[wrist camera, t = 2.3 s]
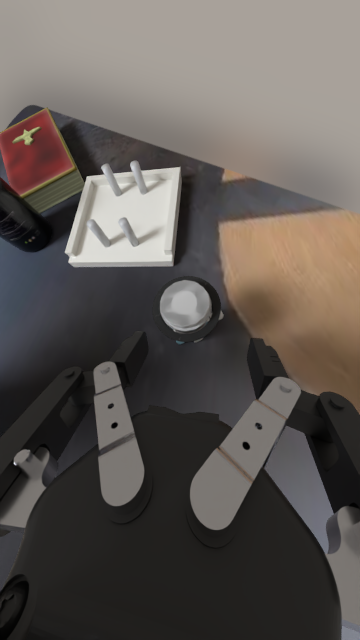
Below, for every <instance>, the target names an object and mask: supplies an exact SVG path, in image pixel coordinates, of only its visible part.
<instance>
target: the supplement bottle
mask: <svg viewBox="0 0 360 640" xmlns="http://www.w3.org/2000/svg"><path fill="white" fill-rule="evenodd" d="M51 236H52V227H51V225H50V223H49V222H48V221H47V220H46V219H45V218H44V217H43V216H42V215H41V214H40V213H39V212H38V211H37V210H36V209H34V208H33V207H32V206H31V205H30V204H29V203H28V202H27V201H26V200H25V199H24V198H22V197H21V196H20V195H19V194H18V193H17V192H16V191H15V190H14V189H13V188H12V187H10V186H9V185H8V184H7V183H6V182H5V181H4V180H3V179H2V178H1V177H0V237H1V238H2V239H4V240H6V241H7V242H9V243H10V244H12V245H14V246H15V247H17V248H19V249H20V250H22V251H25V252H35V251H38V250H40V249H42V248H43V247H44V246H45V245H46V244H47V243H48V242H49V240H50V239H51Z"/></svg>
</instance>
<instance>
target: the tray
mask: <svg viewBox="0 0 360 640" xmlns="http://www.w3.org/2000/svg"><path fill="white" fill-rule="evenodd" d="M130 166H131V169H132V171H133V172H126V173H116V174H113V172H112V170H111V168H110V166H109V164H104V165H103V166H102V167H101V169H102V171H103V173H104V175H96V176H87V178H86V182H85V185H84V188H83V192H82V195H81V199H80V202H79V206H78V209H77V213H76V216H75V220H74V223H73V227H72V230H71V233H70V237H69V240H68V244H67V247H66V251H65V253H66V254H67V255H68V256H70V259H69V262H68V263H70V264H71V265H72V266H73V267H134V266H173V265H174V255H175V246H176V236H177V226H178V216H179V206H180V196H181V186H182V179H181V171H180V167H177V168H167V169H157V170H147V171H141V169H140V166H139V163H138V161H133V162H131V164H130Z"/></svg>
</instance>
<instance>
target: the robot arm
mask: <svg viewBox="0 0 360 640" xmlns="http://www.w3.org/2000/svg"><path fill="white" fill-rule="evenodd" d="M147 354H148V342H147V336H146V332H141V331H135V332H134V334H133V335H132V337H128V338H127V339H125V340H124V341H123V342H122V344H121V345H120V346H119V348H118V349H117V350H116V352H115V353H114V354H113V356H112V357H111V358H110V360H109V361H108V362H104V363H101V364H100V365H98V366H97V367H96V368H95V369H94V370H91V371H85V372H82V370H81V368H80V367H76V366H74V367H70V368H67V369H65V370H63V371H62V372H61V373H60V374H59V375H58V376H57V377H56V378H55V379H54V380H53V381H52V382H51V383H50V385H49V386H48V387H47V388H46V389H45V390H44V391H43V392H42V393H41V394H40V395H39V396H38V398H37V399H36V400H35V401H34V402H33V403H32V404H31V405H30V406H29V407H28V408H27V409H26V410H25V412H24V413H23V414H22V415H21V416H20V417H19V418H18V419H17V420H16V421H15V422H14V423H13V425H12V426H11V427H10V428H9V429H8V430H7V431H6V432H5V433H4V434H3V435H2V436H1V437H0V537H2V536H4V535H6V534H8V533H9V532H11V531H14V532H19V533H24V534H23V538H22V541H21V545H20V548H19V551H18V554H17V556H16V559H15V561H14V564H13V566H12V569H11V571H10V573H9V576H8V578H7V580H6V582H5V584H4V586H3V588H2V590H1V591H0V640H341V629H342V626H344V627H347V628H349V629H352V630H355V631H357V632H360V415H359V413H358V412H357V410H356V409H355V407H354V406H353V405H352V404H351V402H349V401H348V400H347V399H346V398H344V397H342V396H341V395H339V394H336V393H333V392H323V393H321V394H320V396H317V395H314V394H310V393H307V392H305V391H302V390H300V387H299V386H298V385H297V384H296V383H295V382H294V381H292V380H290V379H289V378H288V375H287V373H286V371H285V369H284V367H283V365H282V363H281V361H280V359H279V358H278V355H277V352H276V351H275V350H274V349H273V348H272V347H271V346H266V345H265V343H264V341H263V339H260V338H251V340H250V344H249V350H248V355H247V361H248V366H249V370H250V375H251V379H252V383H253V387H254V391H255V395H256V399H255V400H254V401H253V403H252V404H251V405H250V407H249V408H248V409H247V411H246V412H245V413H244V415H243V416H242V417H241V419H240V420H239V421H238V423H237V424H236V425H235V427H234V428H233V429H232V428H231V427H230V426H228V425H227V424H225V423H223V422H222V421H219V414H212V413H204V412H197V413H189V414H180V413H178V412H175V411H173V410H170V409H168V408H166V407H158V406H150V405H149V408H148V411H145V412H141V413H138V414H136V415H134V416H132V417H131V415H130V411H129V408H128V404H127V401H126V397H125V394H124V389H125V387H132V385H133V383H134V381H135V379H136V377H137V375H138V373H139V371H140V369H141V367H142V365H143V362H144V360H145V358H146V356H147ZM68 399H69V401H68V402H67V404H66V405H65V406H64V408H63V409H62V411H61V408H62V407H63V405H64V404H65V403H66V401H67V400H68ZM92 403H95V413H96V423H97V433H98V444H97V445H96V446H94V447H93V448H92V449H91V450H89V451H88V452H87V453H86V454H85V455H83V456H82V457H81V458H80V459H78V460H77V461H76V462H75V463H73V464H72V465H71V466H70V467H68V468H67V469H66V470H65V471H63V472H62V473H61V474H60V475H58V476H57V477H56V478H55V475H56V473H57V470H58V462H57V461H58V459H59V457H60V456H61V454H62V452H63V451H64V449H65V447H66V446H67V444H68V442H69V441H70V439H71V437H72V436H73V434H74V432H75V431H76V429H77V427H78V426H79V424H80V422H81V420H82V419H83V417H84V415H85V414H86V412H87V410H88V409H89V407H90V405H91V404H92ZM60 411H61V412H60ZM286 425H287V426H289V427H291V428H294V429H296V430H299V431H301V432H303V433H305V436H306V439H307V441H308V444H309V447H310V450H311V452H312V455H313V458H314V461H315V463H316V466H317V469H318V471H319V474H320V477H321V480H322V482H323V485H324V488H325V491H326V493H327V496H328V499H329V501H330V504H331V507H332V510H333V512H334V515H332V516H331V517H330V518H329V519H328V520H327V523H326V531H327V536H328V541H329V550H328V554H325V553H324V551H323V549H322V547H321V546H320V544H319V542H318V541H317V539H316V537H315V536H314V534H313V533H312V532H311V530H310V529H309V528H308V526H307V525H306V524H305V522H304V521H303V520H302V518H301V517H300V516H299V514H298V513H297V512H296V510H295V509H294V508H293V506H292V505H291V504H290V502H289V501H288V500H287V498H286V497H285V496H284V494H283V493H282V492H281V490H280V489H279V488H278V486H277V485H276V484H275V482H274V481H273V480H272V478H271V477H270V476H269V474H268V473H267V472H266V470H265V469H264V468H265V466H266V465H267V463H268V461H269V459H270V456H271V454H272V452H273V450H274V448H275V446H276V444H277V442H278V440H279V439H280V437H281V435H282V433H283V431H284V429H285V427H286Z"/></svg>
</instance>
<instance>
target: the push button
mask: <svg viewBox="0 0 360 640" xmlns="http://www.w3.org/2000/svg"><path fill="white" fill-rule="evenodd" d="M211 307H212V313H211ZM152 312H153V318H154V321H155V324H156V325H157V327H158V328H159V330H160V331H161V332H162V333H163V334H164V335H166V336H167V337H169V338H171V339H173V340H176V342H177V343H178V344H179V345H180V344H183V343H184V342H192V341H194V342H195V343H196V342H198V341H200V340H202V339H203V337H205V336H206V335H208V334H209V333H210V332H211V331H212V330H213V329H214V327H215V326H216V324H217V322H218V320H220V319H222V318H223V316H224V315H223V313H222V311H221V303H220V298H219V296H218V294H217V292H216V290H215V289H214V288H213V286H211V285H210V284H209V283H208V282H206V281H205V280H203V279H200V278H197V277H192V276H184V277H179V278H176V279H173V280H171V281H169V282H168V283H166V284H165V285H164V286H163V287H162V288H161V289H160V290H159V291H158V293H157V295H156V297H155V299H154V302H153V308H152ZM210 313H211V314H210ZM166 324H167V325H169V326H170V329H169V328H168V327H167V325H166Z"/></svg>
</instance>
